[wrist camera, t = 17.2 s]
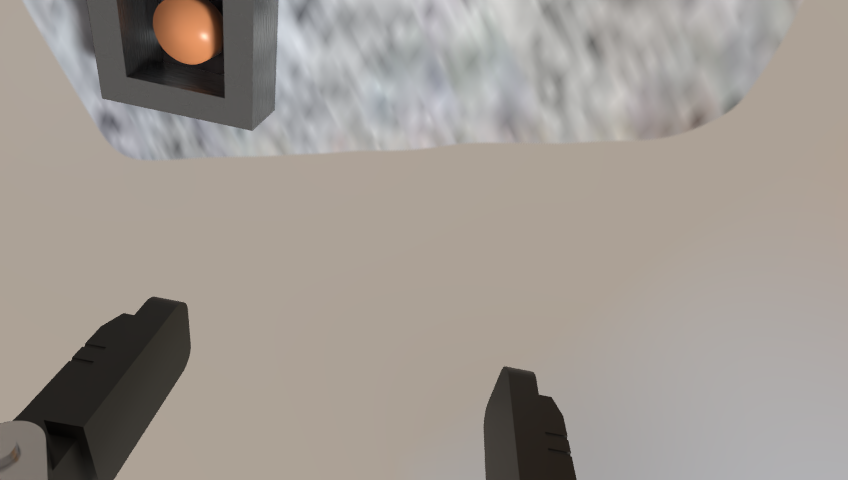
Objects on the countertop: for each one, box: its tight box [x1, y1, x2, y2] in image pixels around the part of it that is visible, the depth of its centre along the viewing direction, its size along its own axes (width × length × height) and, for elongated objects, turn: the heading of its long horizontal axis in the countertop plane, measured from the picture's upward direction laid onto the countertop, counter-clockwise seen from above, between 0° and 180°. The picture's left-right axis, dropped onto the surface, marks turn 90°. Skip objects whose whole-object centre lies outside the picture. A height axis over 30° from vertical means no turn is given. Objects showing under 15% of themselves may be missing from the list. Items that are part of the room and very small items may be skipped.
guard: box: [87, 0, 278, 131], centre depth 35 cm, size 11×11×5 cm
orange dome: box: [153, 0, 224, 64], centre depth 35 cm, size 4×4×2 cm
